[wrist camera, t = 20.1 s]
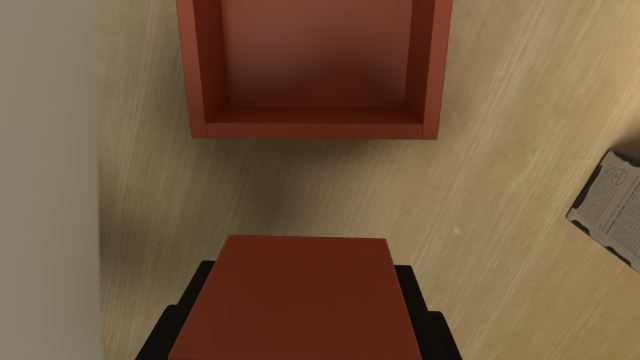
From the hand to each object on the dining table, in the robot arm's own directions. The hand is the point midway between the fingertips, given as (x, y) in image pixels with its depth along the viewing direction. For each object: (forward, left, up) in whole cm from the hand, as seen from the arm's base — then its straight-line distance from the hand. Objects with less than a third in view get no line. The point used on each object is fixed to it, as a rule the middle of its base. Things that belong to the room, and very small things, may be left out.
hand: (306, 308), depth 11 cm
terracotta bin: (0, +9, -16) cm, 18 cm away
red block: (0, 0, 0) cm, 0 cm away
